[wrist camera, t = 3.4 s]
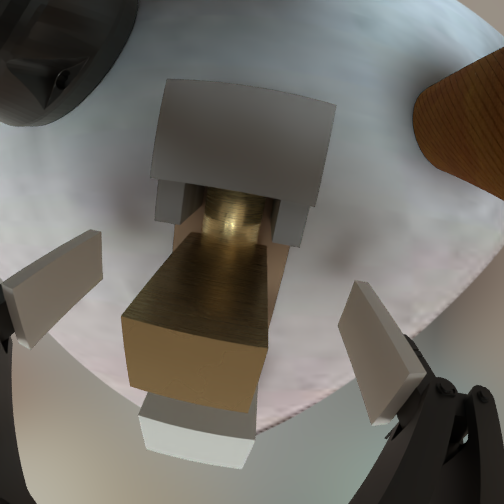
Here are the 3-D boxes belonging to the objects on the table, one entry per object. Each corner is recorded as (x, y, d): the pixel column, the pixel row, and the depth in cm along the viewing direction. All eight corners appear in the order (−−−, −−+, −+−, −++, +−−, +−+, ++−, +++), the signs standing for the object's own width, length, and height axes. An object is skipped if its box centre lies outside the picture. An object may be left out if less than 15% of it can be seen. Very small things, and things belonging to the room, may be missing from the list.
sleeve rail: (197, 103, 14) (159, 78, 8) (314, 123, 15) (344, 107, 9) (171, 378, 22) (151, 433, 16) (247, 393, 22) (243, 452, 16)
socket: (168, 345, 19) (138, 415, 13) (258, 363, 20) (255, 440, 13) (168, 385, 21) (146, 448, 15) (247, 401, 21) (241, 469, 15)
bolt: (217, 111, 14) (143, 54, 4) (289, 123, 14) (332, 75, 4) (189, 313, 18) (140, 434, 9) (246, 325, 18) (233, 455, 9)
